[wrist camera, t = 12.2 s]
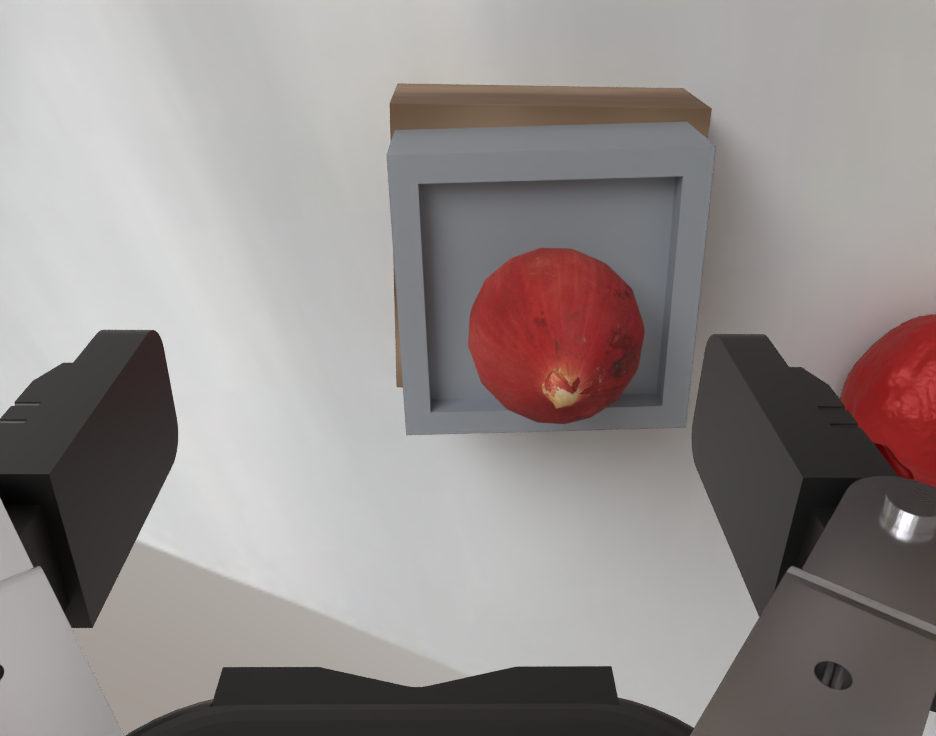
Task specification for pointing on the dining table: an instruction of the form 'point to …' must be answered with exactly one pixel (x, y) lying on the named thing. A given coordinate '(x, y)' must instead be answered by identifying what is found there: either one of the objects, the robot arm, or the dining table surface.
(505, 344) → the onion
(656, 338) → the top block
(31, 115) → the dining table surface
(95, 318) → the dining table surface
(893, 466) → the pomegranate
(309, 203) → the dining table surface
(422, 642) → the dining table surface
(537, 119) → the bottom block
